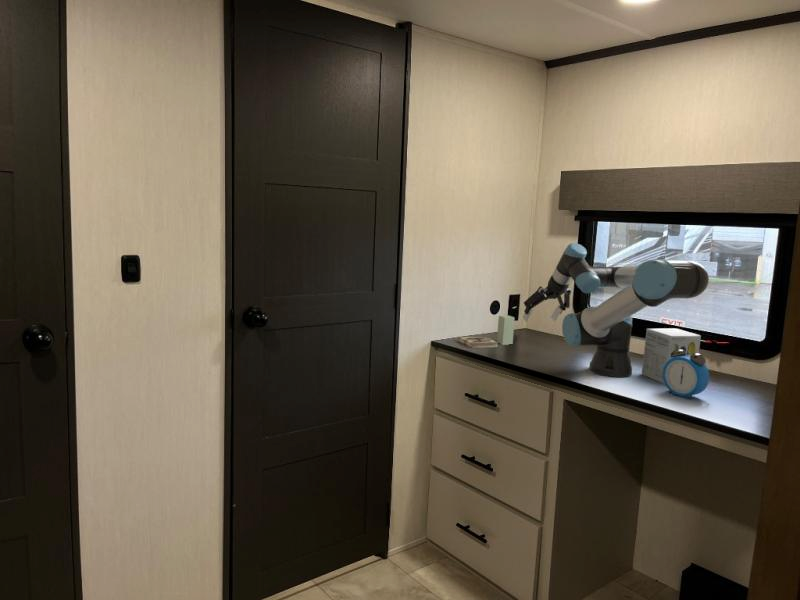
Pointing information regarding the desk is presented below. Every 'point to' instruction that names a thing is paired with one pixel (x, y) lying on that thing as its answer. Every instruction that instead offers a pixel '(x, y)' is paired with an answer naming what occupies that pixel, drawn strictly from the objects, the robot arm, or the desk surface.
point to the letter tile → (478, 342)
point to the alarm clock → (686, 373)
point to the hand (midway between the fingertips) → (539, 319)
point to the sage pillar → (505, 330)
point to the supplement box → (666, 349)
